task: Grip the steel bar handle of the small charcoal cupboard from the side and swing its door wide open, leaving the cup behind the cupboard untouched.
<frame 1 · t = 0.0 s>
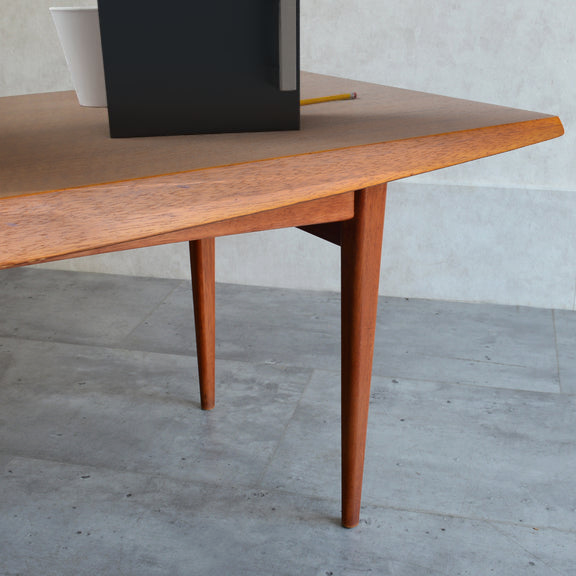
pencil: (322, 103, 100), on the table
door: (205, 36, 71), point 10 cm above the table, hinge at 0.0°
cupboard: (201, 125, 83), on the table
cup: (105, 104, 101), on the table
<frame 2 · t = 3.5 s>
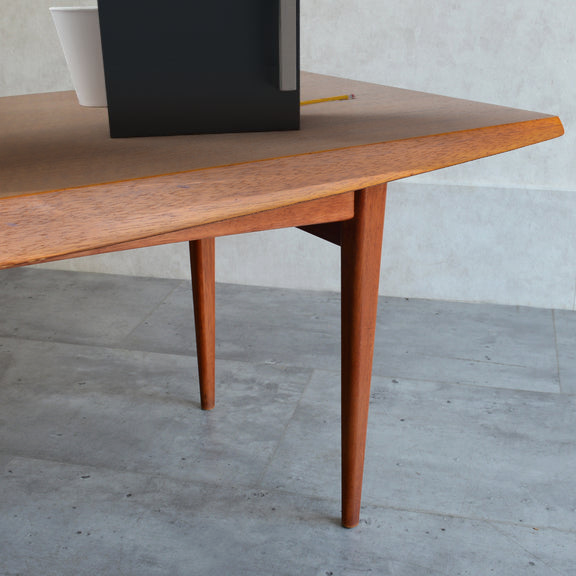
nothing on the table moved.
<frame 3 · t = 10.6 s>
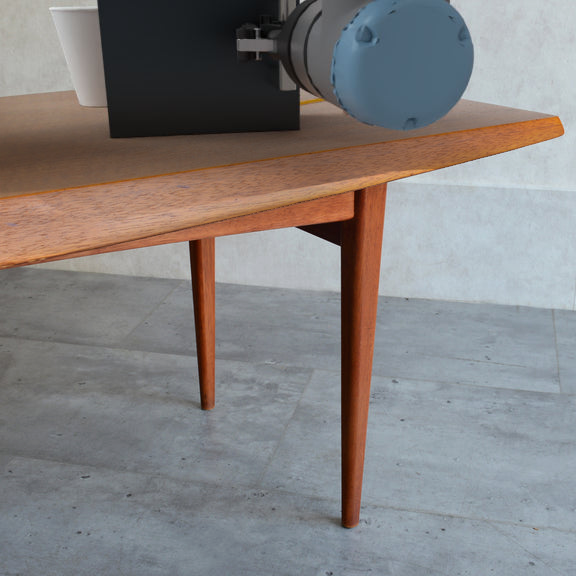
hand: (276, 33, 75), 10 cm above the table, tool horizontal, fingers open, 2 cm apart
door: (205, 36, 71), point 10 cm above the table, hinge at -0.1°, touching gripper
everything else where it was.
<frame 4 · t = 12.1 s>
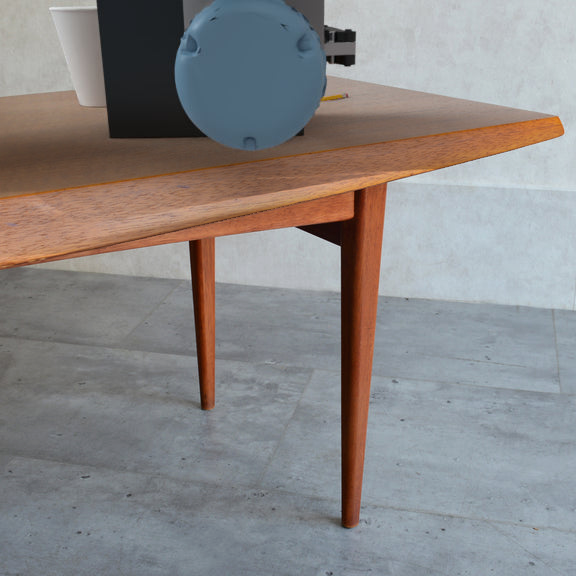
hand: (278, 37, 71), 10 cm above the table, tool horizontal, fingers open, 2 cm apart
door: (200, 37, 70), point 10 cm above the table, hinge at 9.9°, touching gripper
everything else where it was.
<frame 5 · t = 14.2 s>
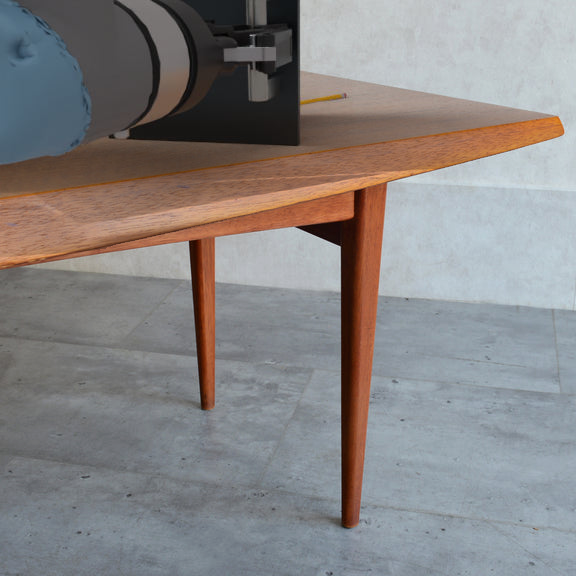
hand: (266, 39, 66), 10 cm above the table, tool horizontal, fingers open, 2 cm apart
door: (185, 38, 67), point 10 cm above the table, hinge at 25.7°, touching gripper
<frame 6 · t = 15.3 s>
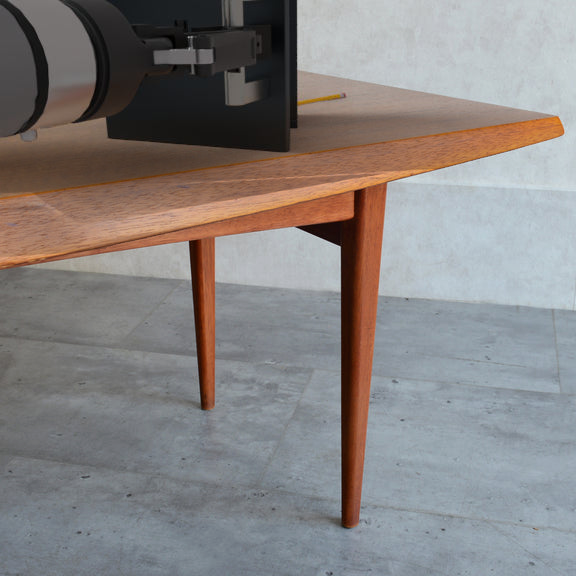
hand: (252, 41, 64), 10 cm above the table, tool horizontal, fingers open, 2 cm apart
door: (172, 39, 66), point 10 cm above the table, hinge at 35.3°, touching gripper
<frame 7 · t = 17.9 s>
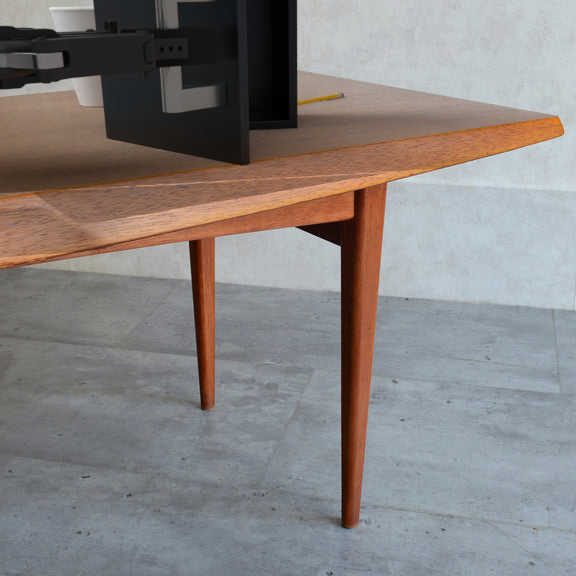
hand: (203, 44, 59), 10 cm above the table, tool horizontal, fingers closed on door, 2 cm apart
door: (138, 41, 64), point 10 cm above the table, hinge at 54.5°, touching gripper
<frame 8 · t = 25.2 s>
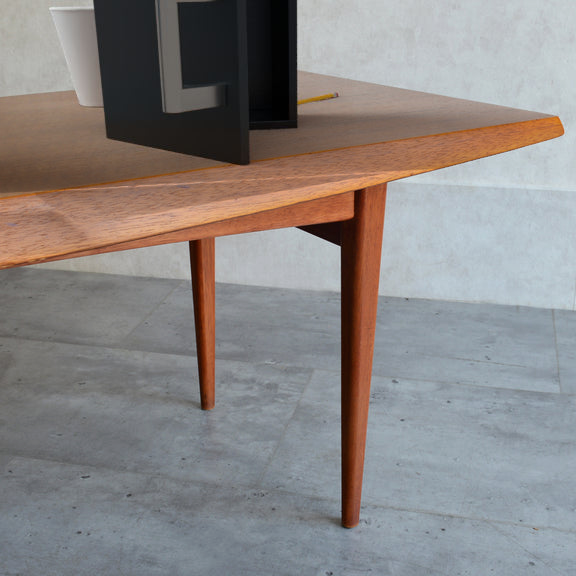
door: (138, 41, 64), point 10 cm above the table, hinge at 54.5°
at the end: door at +54° (first picture: +0°); cup moved 0.2 cm from its start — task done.
